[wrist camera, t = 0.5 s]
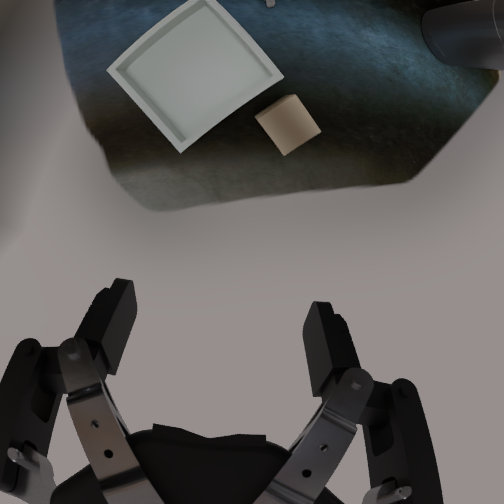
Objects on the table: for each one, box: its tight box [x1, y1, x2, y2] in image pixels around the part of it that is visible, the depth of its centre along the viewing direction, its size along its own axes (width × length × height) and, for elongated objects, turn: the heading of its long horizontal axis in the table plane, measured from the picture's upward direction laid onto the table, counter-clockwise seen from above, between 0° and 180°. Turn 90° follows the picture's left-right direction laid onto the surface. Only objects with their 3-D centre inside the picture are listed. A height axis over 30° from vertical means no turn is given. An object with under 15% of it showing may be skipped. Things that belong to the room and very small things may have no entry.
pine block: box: [255, 95, 321, 156], centre depth 27 cm, size 4×4×6 cm
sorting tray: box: [107, 0, 284, 153], centre depth 24 cm, size 14×14×4 cm
